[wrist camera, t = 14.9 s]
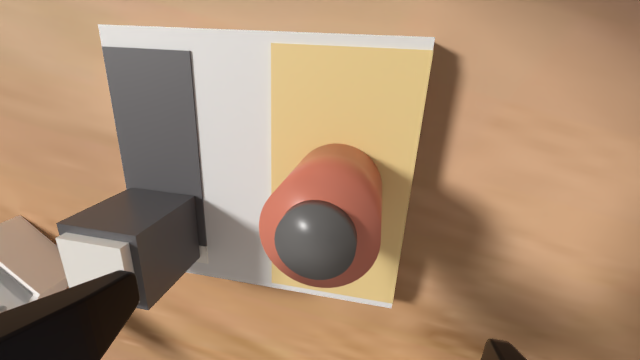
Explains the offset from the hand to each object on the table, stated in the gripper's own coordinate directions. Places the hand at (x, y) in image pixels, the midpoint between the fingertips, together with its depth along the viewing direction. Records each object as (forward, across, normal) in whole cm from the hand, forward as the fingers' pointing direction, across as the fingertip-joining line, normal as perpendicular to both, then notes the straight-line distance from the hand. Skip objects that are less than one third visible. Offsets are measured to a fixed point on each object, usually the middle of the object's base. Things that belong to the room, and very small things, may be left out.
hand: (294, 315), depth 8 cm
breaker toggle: (+9, +10, +3) cm, 14 cm away
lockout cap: (+9, 0, 0) cm, 9 cm away
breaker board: (+10, +5, 0) cm, 11 cm away
